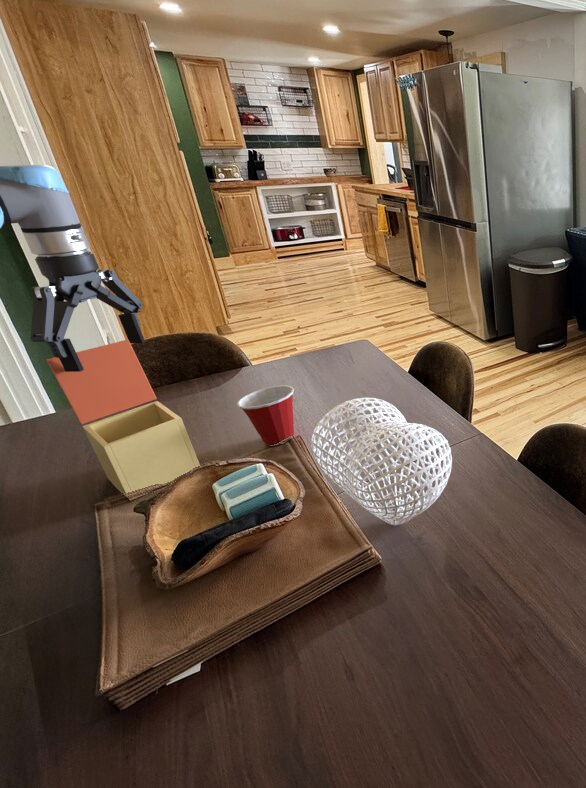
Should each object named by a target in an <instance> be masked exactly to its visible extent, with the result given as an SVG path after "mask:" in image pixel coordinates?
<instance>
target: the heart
mask: <svg viewBox="0 0 586 788" xmlns="http://www.w3.org/2000/svg"><path fill="white" fill-rule="evenodd" d="M368 404H369V405H370V406H368ZM343 409H344V410H343ZM357 410H358V411H357ZM374 410H375V411H376V412H374ZM353 411H354V412H353ZM367 411H369V412H370V414H366V413H365V412H367ZM345 414H346V415H345ZM343 418H344V419H343ZM351 420H355V421H354V422H352V421H351ZM330 421H332V422H331V423H330ZM367 421H369V422H367ZM376 422H379V423H376ZM347 423H348V426H349V427H348V428H346V427H345V424H347ZM360 423H361V424H360ZM337 426H338V427H337ZM333 428H334V429H333ZM364 428H365V429H366V430H365V431H363V429H364ZM341 429H342V431H340V430H341ZM354 430H356V431H355V432H354ZM358 433H359V434H360V435H359V436H356V435H357V434H358ZM347 434H349V435H350V437H349V438H348V435H347ZM426 434H427V435H426ZM328 436H329V438H328ZM382 436H383V437H382ZM399 436H400V437H399ZM380 437H381V438H380ZM336 438H337V440H338V441H337V444H336V442H335V439H336ZM321 439H322V440H321ZM389 439H390V440H392V441H390V440H389ZM403 440H404V443H402V442H403ZM374 441H375V442H374ZM412 441H413V442H412ZM424 441H425V442H424ZM430 441H431V443H430ZM351 443H352V444H351ZM425 443H426V444H425ZM394 444H396V445H397V446H396V447H395V446H394ZM407 444H408V445H407ZM378 445H380V447H381V448H379V449H378V448H377V446H378ZM416 445H417V446H416ZM441 446H442V447H441ZM310 447H311V452H312V455H313V457H314V461H315V462H316V463H317V465H318V467H319V468H320V469H321V471H322V472H323V473H324V475H326V476H327V477H328V478H329V479H331V481H332V482H333V483H334V484H336V485H337V486H338V487H339V488H340V489H342V491H344V492H345V493H346V494H347V495H348V496H349V497H350V498H351V499H352V500H353V501H355V502H356V503H357V504H358V505H359V506H361V507H362V508H363V509H364V510H366V511H367V512H369V513H370V514H372V515H374V516H375V517H377V518H378V519H379V520H381V521H383V522H385V523H386V524H389V525H391V526H400V525H403V524H406V523H407V522H409V521H410V520H412V519H414V518H415V517H417V516H419V515H421V514H422V513H423V512H425V511H427V509H429V508H430V507H431V506H432V505H433V504H434V503H435V502H436V501H437V500H438V498H440V496H441V494H442V493H443V491H444V489H446V486H447V485H448V482H449V479H450V476H451V472H452V468H453V467H452V466H453V465H452V464H453V457H452V449H451V446H450V443H449V441H448V439H447V438H446V437H445V436H444V435H443V434H442V433H441V432H439V431H438V430H436V429H435V428H433V427H430V426H429V425H426V424H422V423H415V422H408V421H407V419H406V417H405V416H404V415H403V413H402V412H401V411H400V410H399V409H398V408H397V407H396V406H395V405H394V404H392V403H390V402H388V401H386V400H383V399H380V398H375V397H358V398H353V399H350V400H346V401H344V402H342V403H339V404H337V405H335V406H334V407H332V408H331V409H330V410H328V412H326V414H324V416H323V417H321V419H320V420H319V422H317V424H316V426H315V428H314V430H313V432H312V434H311V439H310ZM326 447H327V450H326V449H325V448H326ZM332 447H333V449H332ZM347 447H349V449H348V450H347V451H346V449H347ZM399 448H400V449H399ZM426 448H427V449H426ZM411 449H412V450H411ZM365 450H366V451H365ZM372 450H374V451H375V452H372ZM388 450H389V451H390V452H391V453H389V452H388ZM437 450H438V455H437ZM382 452H384V453H385V454H386V456H385V455H384V454H383V453H382ZM431 452H432V453H431ZM403 454H404V455H403ZM377 455H378V457H379V458H380V459H378V460H376V458H375V457H376V456H377ZM410 455H411V456H410ZM337 456H338V457H337ZM394 457H395V458H396V459H395V460H394ZM401 458H402V459H404V460H403V461H402V460H401ZM426 458H427V460H428V461H426ZM432 458H433V461H432ZM363 460H364V462H363V464H362V461H363ZM389 460H390V461H391V463H390V461H389ZM415 461H416V463H415ZM369 462H370V463H369ZM419 464H421V466H420V465H419ZM425 464H426V465H427V466H426V465H425ZM335 465H336V466H335ZM381 465H383V466H384V467H382V468H381V467H380V466H381ZM408 465H409V466H408ZM358 468H359V469H358ZM368 468H369V470H367V469H368ZM389 468H390V470H389ZM412 468H413V469H412ZM399 469H400V473H397V470H399ZM418 469H419V471H418ZM374 470H375V471H374ZM431 470H432V473H430V471H431ZM436 470H437V472H436ZM383 471H385V472H383ZM362 472H363V473H364V475H363V477H362V475H361V473H362ZM378 473H379V476H376V474H378ZM404 473H405V474H404ZM411 473H412V474H411ZM424 474H425V478H423V475H424ZM390 477H393V482H392V483H391V478H390ZM416 477H417V480H418V481H417V480H416ZM366 479H367V480H368V482H367V481H365V480H366ZM381 481H382V483H383V486H382V487H381V485H380V483H379V482H381ZM408 483H409V485H408ZM433 483H435V484H434V486H433ZM414 485H416V486H415V487H414ZM397 486H399V487H398V488H399V489H398V490H397ZM403 486H404V487H403ZM371 487H372V489H371ZM425 487H427V489H426V491H425ZM393 488H394V490H393ZM407 489H409V490H407ZM388 490H389V492H388ZM419 490H420V491H419ZM383 491H386V494H384V492H383ZM417 491H419V492H417ZM375 494H376V495H377V496H378V498H377V497H376V495H375ZM411 494H412V495H411ZM381 503H382V504H383V505H382V504H381ZM390 504H391V505H390ZM393 509H394V510H393Z"/></svg>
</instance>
